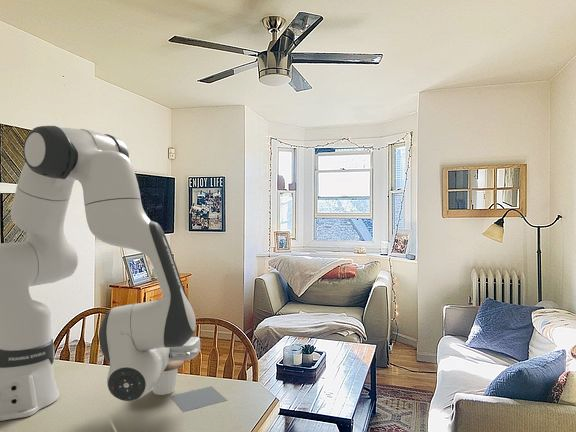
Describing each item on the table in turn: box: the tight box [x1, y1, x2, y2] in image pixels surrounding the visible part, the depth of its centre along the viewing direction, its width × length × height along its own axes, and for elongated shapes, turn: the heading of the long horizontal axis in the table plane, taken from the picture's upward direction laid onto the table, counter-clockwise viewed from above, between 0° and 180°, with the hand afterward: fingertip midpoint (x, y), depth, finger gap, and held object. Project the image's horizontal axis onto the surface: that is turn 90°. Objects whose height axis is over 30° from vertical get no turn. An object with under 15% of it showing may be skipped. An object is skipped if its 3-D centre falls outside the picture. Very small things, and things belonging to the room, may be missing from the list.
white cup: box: [152, 368, 179, 396], centre depth 111 cm, size 7×7×7 cm
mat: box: [169, 385, 228, 413], centre depth 106 cm, size 11×10×1 cm
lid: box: [164, 360, 185, 371], centre depth 110 cm, size 10×10×11 cm
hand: (163, 338), depth 110 cm, fingers open, 8 cm apart
